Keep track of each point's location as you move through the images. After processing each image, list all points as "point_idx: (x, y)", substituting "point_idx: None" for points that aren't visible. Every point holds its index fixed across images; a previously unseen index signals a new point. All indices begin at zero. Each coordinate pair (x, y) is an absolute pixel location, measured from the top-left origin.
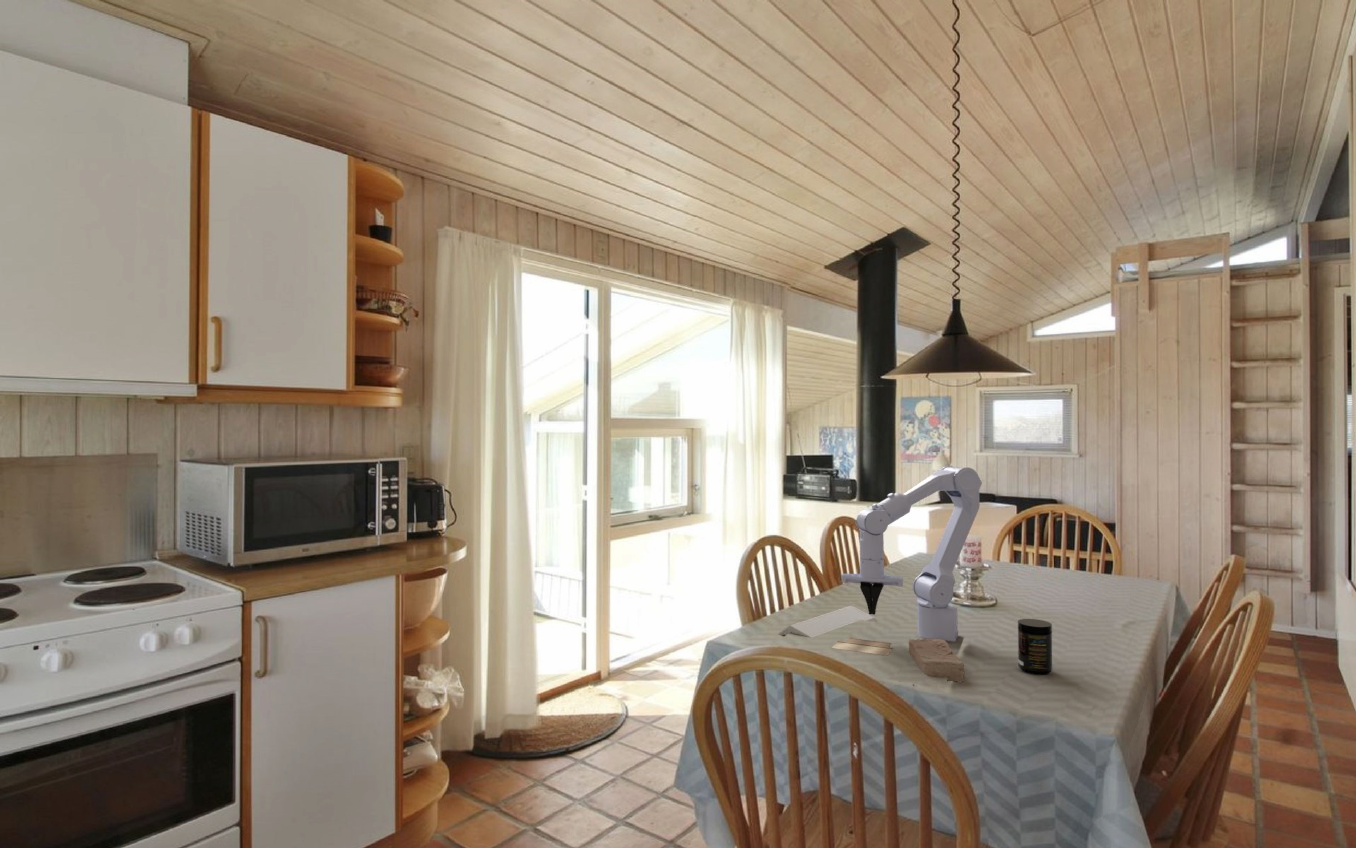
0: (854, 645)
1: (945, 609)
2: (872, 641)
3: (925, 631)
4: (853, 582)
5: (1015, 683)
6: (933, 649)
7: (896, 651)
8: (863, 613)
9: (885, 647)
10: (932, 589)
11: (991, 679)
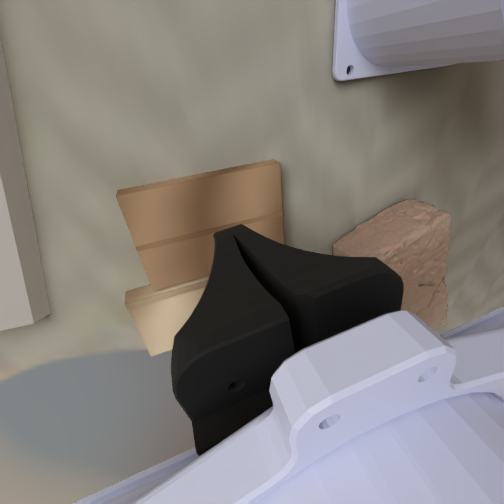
0: (193, 301)
1: None
2: (221, 230)
3: (402, 61)
4: (130, 497)
5: (492, 255)
6: (410, 293)
7: (294, 221)
8: None
9: None
10: None
11: (464, 262)
